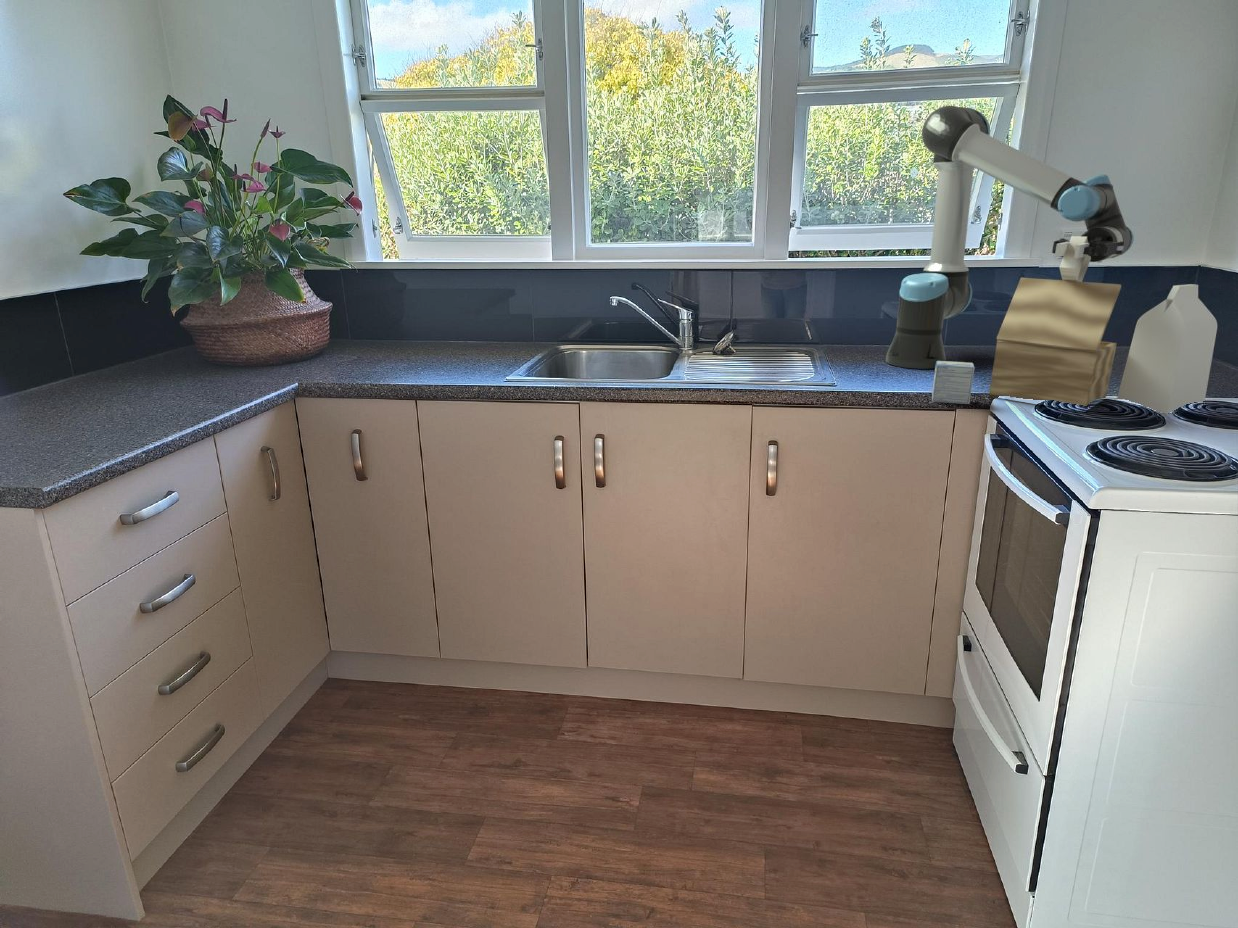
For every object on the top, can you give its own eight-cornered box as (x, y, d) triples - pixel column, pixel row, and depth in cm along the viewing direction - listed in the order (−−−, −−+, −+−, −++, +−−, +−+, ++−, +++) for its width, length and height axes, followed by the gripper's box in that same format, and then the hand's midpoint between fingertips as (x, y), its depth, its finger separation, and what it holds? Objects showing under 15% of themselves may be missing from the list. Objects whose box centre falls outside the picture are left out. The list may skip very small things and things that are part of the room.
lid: (1097, 358, 169) (1093, 339, 163) (999, 346, 182) (992, 327, 176) (1134, 261, 173) (1131, 238, 167) (1035, 255, 186) (1030, 234, 180)
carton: (1084, 413, 172) (1096, 353, 167) (988, 397, 185) (997, 341, 180) (1105, 399, 182) (1116, 343, 178) (1013, 385, 196) (1022, 332, 191)
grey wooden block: (968, 400, 182) (973, 362, 179) (969, 405, 178) (975, 366, 175) (931, 397, 185) (936, 360, 182) (931, 402, 181) (936, 364, 178)
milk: (1166, 414, 170) (1195, 289, 162) (1116, 401, 180) (1140, 283, 172) (1203, 408, 175) (1232, 286, 166) (1151, 396, 185) (1177, 281, 176)
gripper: (1135, 263, 182) (1106, 272, 166) (1058, 258, 193) (1024, 266, 177) (1143, 229, 180) (1113, 234, 164) (1064, 225, 190) (1030, 230, 174)
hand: (1067, 251), depth 170 cm, fingers closed on lid, 3 cm apart
